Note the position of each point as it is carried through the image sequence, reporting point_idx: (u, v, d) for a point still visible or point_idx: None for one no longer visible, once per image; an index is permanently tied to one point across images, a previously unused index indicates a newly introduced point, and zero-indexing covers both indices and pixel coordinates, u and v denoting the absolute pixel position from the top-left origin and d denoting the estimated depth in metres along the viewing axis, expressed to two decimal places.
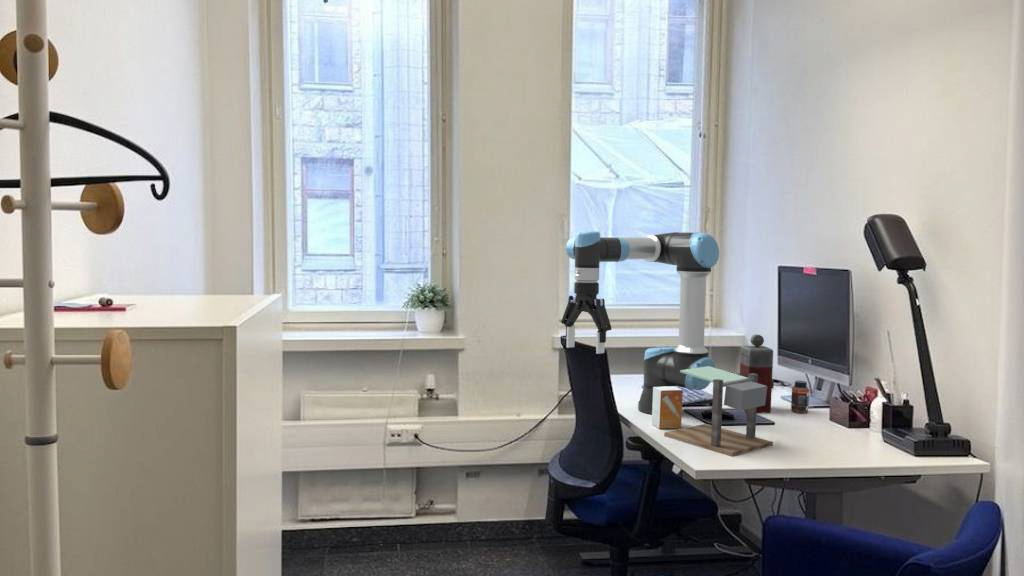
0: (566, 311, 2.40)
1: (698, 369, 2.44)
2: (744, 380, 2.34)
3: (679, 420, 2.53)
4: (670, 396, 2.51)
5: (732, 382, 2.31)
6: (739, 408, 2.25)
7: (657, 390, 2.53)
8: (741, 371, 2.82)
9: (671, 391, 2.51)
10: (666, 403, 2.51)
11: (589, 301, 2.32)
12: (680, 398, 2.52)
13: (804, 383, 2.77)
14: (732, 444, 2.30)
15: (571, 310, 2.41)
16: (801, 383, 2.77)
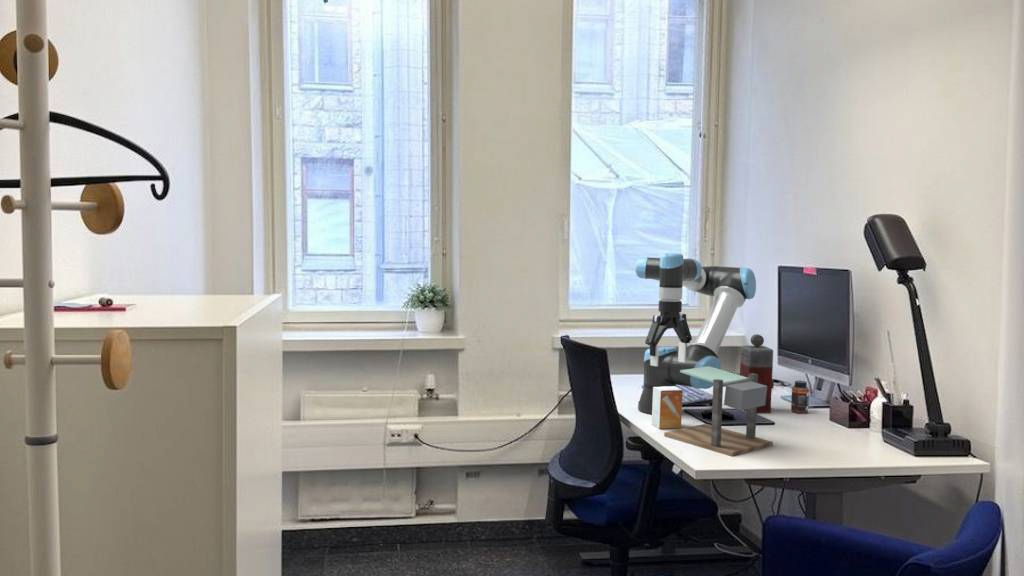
0: None
1: (698, 369, 2.44)
2: (744, 380, 2.34)
3: (679, 420, 2.53)
4: (670, 396, 2.51)
5: (732, 382, 2.31)
6: (739, 408, 2.25)
7: (657, 390, 2.53)
8: (741, 371, 2.82)
9: (671, 391, 2.51)
10: (666, 403, 2.51)
11: None
12: (680, 398, 2.52)
13: (804, 383, 2.77)
14: (732, 444, 2.30)
15: (683, 327, 2.57)
16: (801, 383, 2.77)
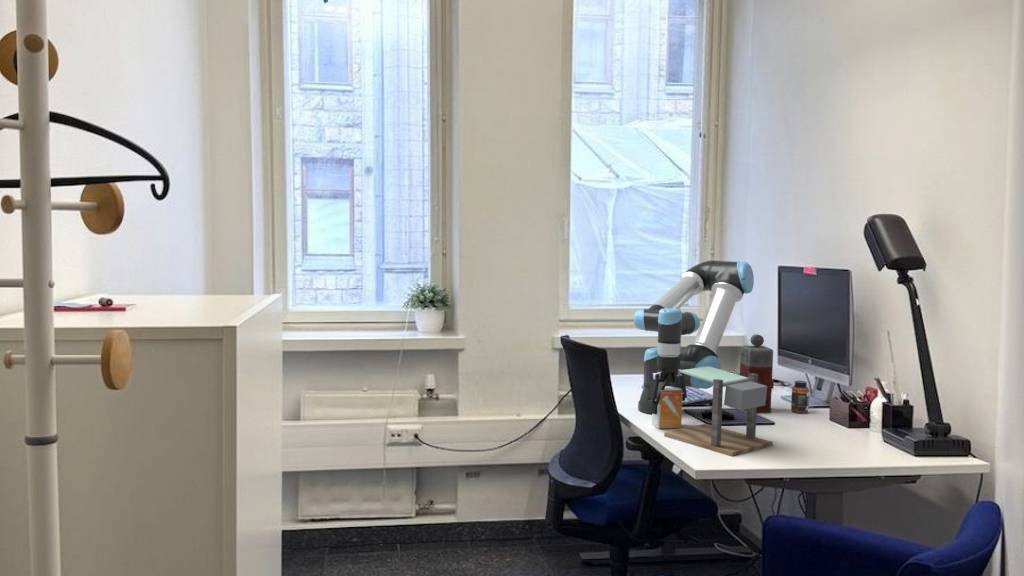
0: None
1: (698, 369, 2.44)
2: (744, 380, 2.34)
3: (679, 420, 2.53)
4: (670, 396, 2.51)
5: (732, 382, 2.31)
6: (739, 408, 2.25)
7: None
8: (741, 371, 2.82)
9: (671, 391, 2.51)
10: (666, 403, 2.51)
11: None
12: (680, 398, 2.52)
13: (804, 383, 2.77)
14: (732, 444, 2.30)
15: (680, 383, 2.58)
16: (801, 383, 2.77)
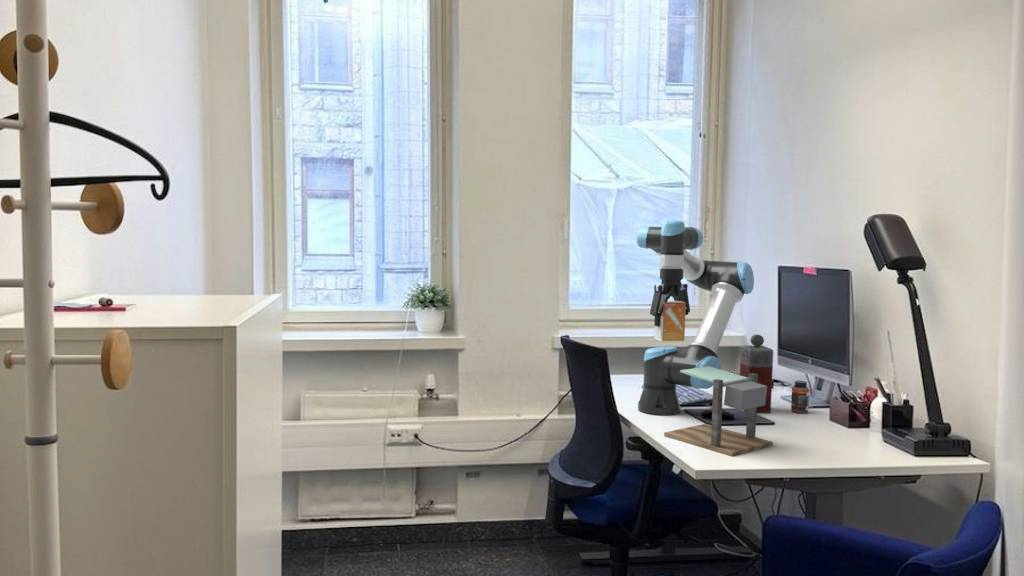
0: None
1: (698, 369, 2.44)
2: (744, 380, 2.34)
3: (682, 333, 2.51)
4: (673, 308, 2.49)
5: (732, 382, 2.31)
6: (739, 408, 2.25)
7: None
8: (741, 371, 2.82)
9: (674, 303, 2.49)
10: (669, 315, 2.49)
11: None
12: (683, 311, 2.50)
13: (804, 383, 2.77)
14: (732, 444, 2.30)
15: (683, 298, 2.56)
16: (801, 383, 2.77)
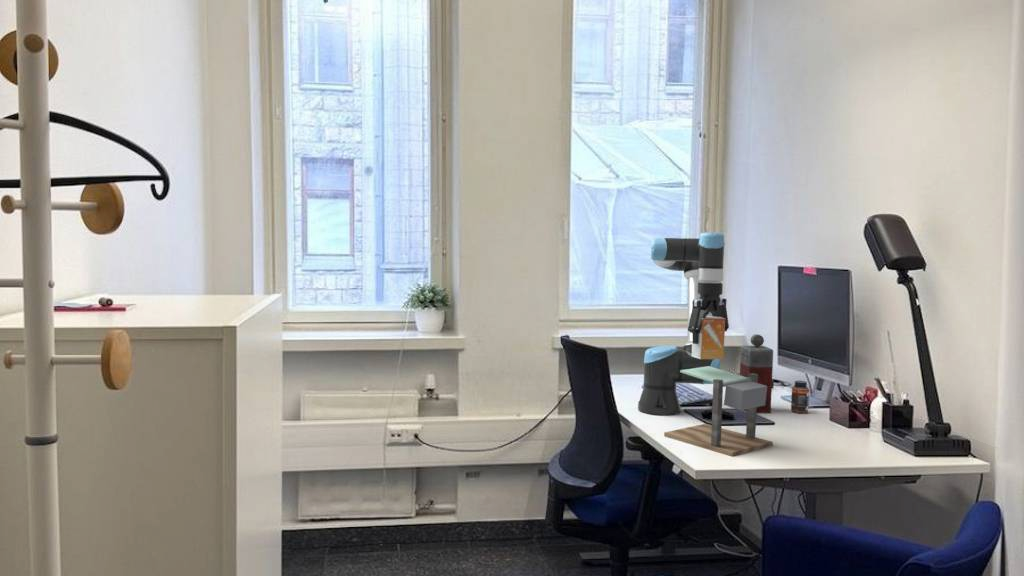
0: None
1: (698, 369, 2.44)
2: (744, 380, 2.34)
3: (721, 351, 2.38)
4: (712, 325, 2.37)
5: (732, 382, 2.31)
6: (739, 408, 2.25)
7: None
8: (741, 371, 2.82)
9: (713, 319, 2.37)
10: (708, 332, 2.37)
11: None
12: (723, 327, 2.38)
13: (804, 383, 2.77)
14: (732, 444, 2.30)
15: (722, 313, 2.43)
16: (801, 383, 2.77)
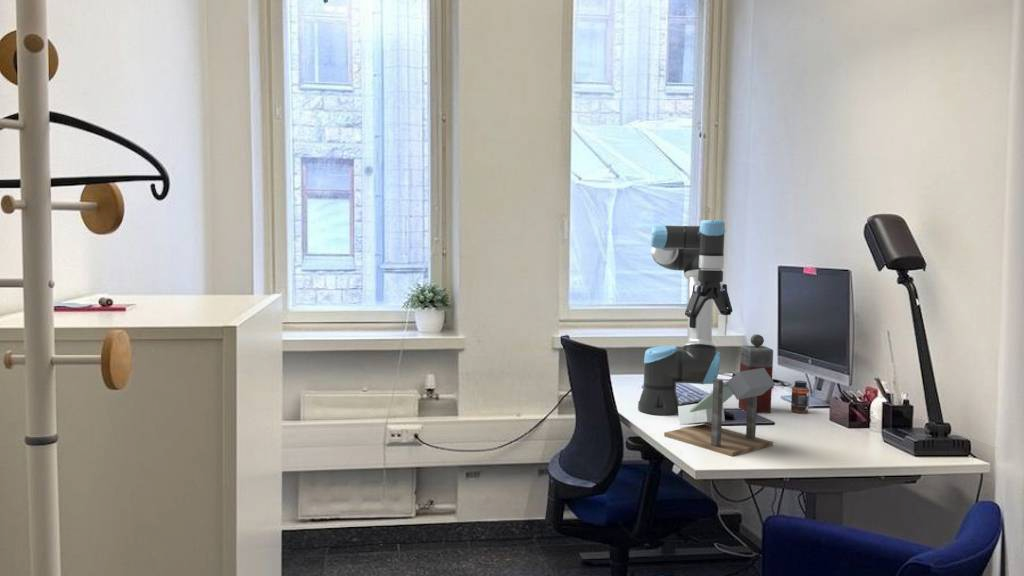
0: None
1: None
2: None
3: None
4: None
5: None
6: (748, 388, 2.22)
7: (679, 414, 2.54)
8: None
9: None
10: None
11: None
12: None
13: (804, 383, 2.77)
14: (732, 444, 2.30)
15: (724, 298, 2.44)
16: (801, 383, 2.77)
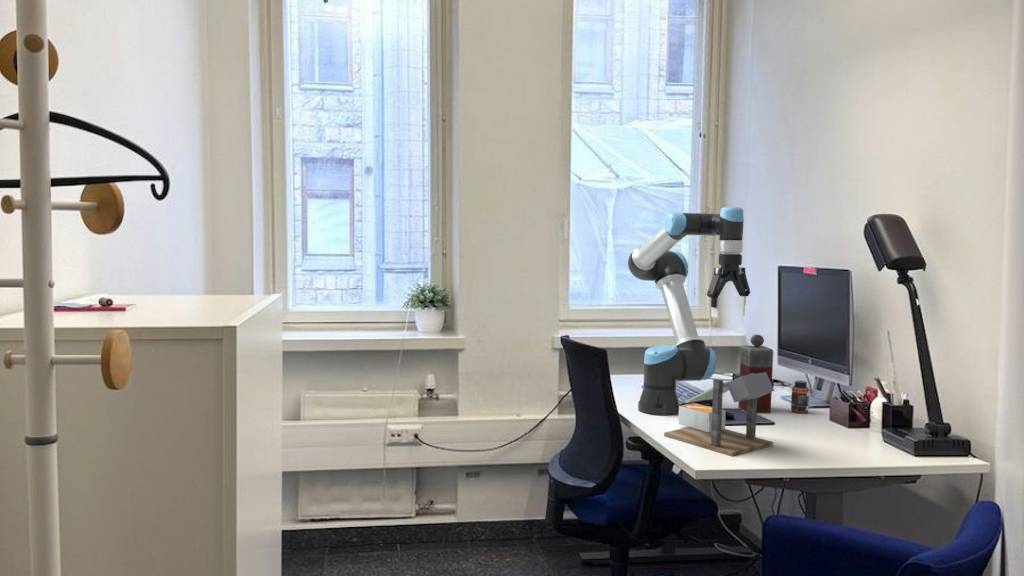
0: None
1: None
2: None
3: None
4: (690, 405, 2.54)
5: None
6: (747, 394, 2.22)
7: (679, 413, 2.53)
8: (741, 371, 2.82)
9: (687, 404, 2.55)
10: (693, 407, 2.51)
11: None
12: None
13: (804, 383, 2.77)
14: (732, 444, 2.30)
15: (742, 281, 2.61)
16: (801, 383, 2.77)
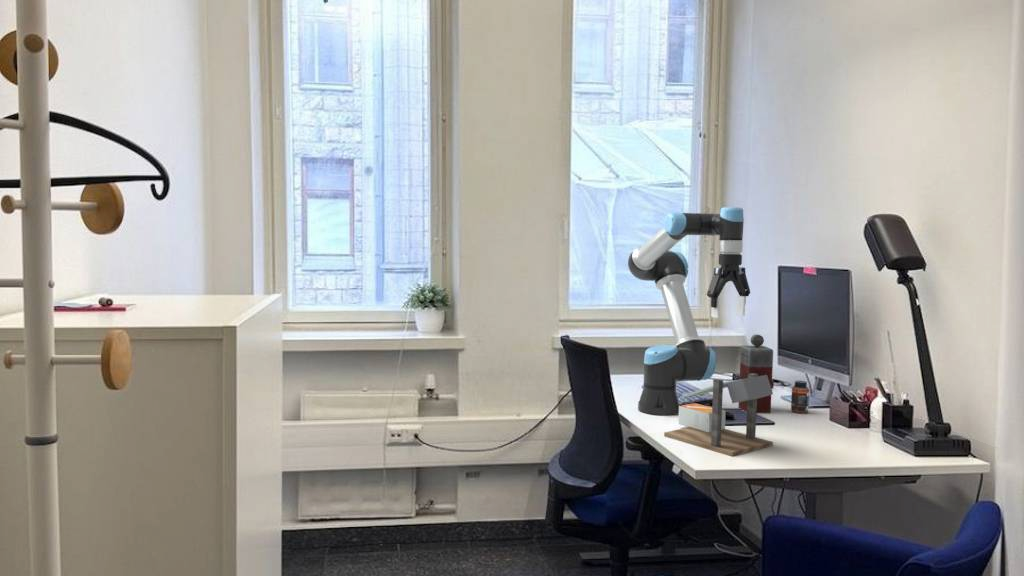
0: None
1: None
2: None
3: None
4: (690, 405, 2.54)
5: (732, 381, 2.31)
6: (746, 397, 2.22)
7: (679, 413, 2.53)
8: (741, 371, 2.82)
9: (687, 404, 2.55)
10: (693, 407, 2.51)
11: None
12: None
13: (804, 383, 2.77)
14: (732, 444, 2.30)
15: (742, 281, 2.61)
16: (801, 383, 2.77)
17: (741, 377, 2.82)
